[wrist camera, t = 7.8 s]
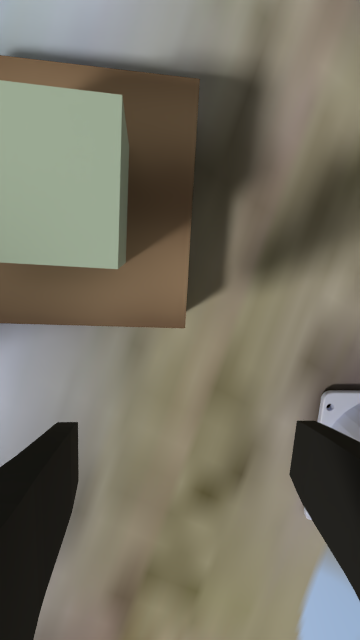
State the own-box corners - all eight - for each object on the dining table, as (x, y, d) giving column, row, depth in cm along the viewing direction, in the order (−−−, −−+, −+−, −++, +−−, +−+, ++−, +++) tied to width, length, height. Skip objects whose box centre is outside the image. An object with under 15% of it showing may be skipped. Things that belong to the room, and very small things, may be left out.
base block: (178, 316, 19) (184, 328, 16) (-22, 309, 18) (-53, 321, 15) (189, 107, 17) (199, 79, 14) (-38, 83, 16) (-79, 45, 13)
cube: (125, 262, 15) (117, 269, 11) (13, 255, 15) (-51, 259, 10) (129, 146, 14) (122, 95, 10) (8, 134, 14) (-65, 72, 9)
